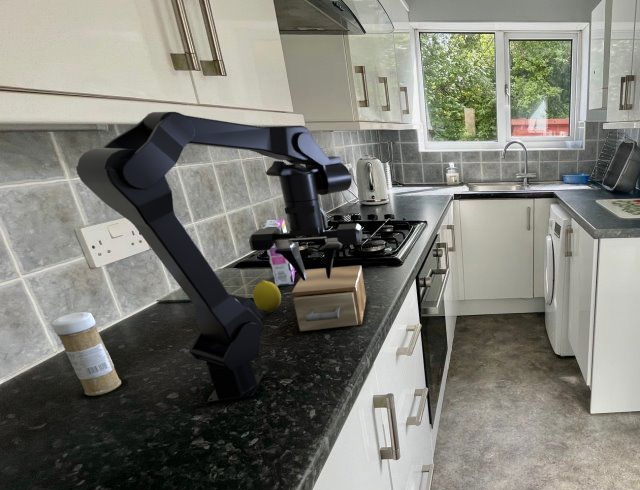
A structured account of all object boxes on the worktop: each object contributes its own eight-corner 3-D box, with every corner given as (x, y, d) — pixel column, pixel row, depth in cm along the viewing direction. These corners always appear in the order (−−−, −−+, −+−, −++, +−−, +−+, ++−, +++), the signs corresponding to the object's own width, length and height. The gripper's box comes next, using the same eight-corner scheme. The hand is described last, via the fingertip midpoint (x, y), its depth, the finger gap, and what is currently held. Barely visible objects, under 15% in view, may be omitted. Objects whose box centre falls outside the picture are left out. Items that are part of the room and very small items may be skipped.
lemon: (272, 318, 93) (264, 286, 90) (252, 316, 94) (243, 284, 91) (289, 308, 98) (282, 277, 95) (269, 306, 99) (262, 275, 96)
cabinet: (361, 324, 90) (355, 286, 87) (299, 331, 87) (291, 292, 84) (366, 299, 103) (361, 265, 100) (312, 304, 101) (305, 269, 97)
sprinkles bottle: (122, 377, 72) (92, 308, 67) (121, 389, 68) (89, 318, 63) (86, 387, 69) (52, 316, 64) (83, 400, 66) (47, 326, 61)
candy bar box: (295, 284, 113) (282, 226, 107) (274, 287, 111) (260, 228, 105) (296, 272, 122) (284, 217, 116) (277, 274, 120) (264, 219, 114)
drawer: (355, 334, 84) (350, 302, 82) (295, 341, 82) (287, 308, 79) (362, 300, 100) (358, 272, 98) (312, 305, 98) (306, 276, 95)
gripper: (359, 190, 84) (369, 262, 90) (258, 194, 80) (276, 269, 86) (353, 199, 74) (365, 279, 80) (238, 204, 70) (259, 289, 76)
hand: (317, 278), depth 80 cm, fingers open, 4 cm apart
